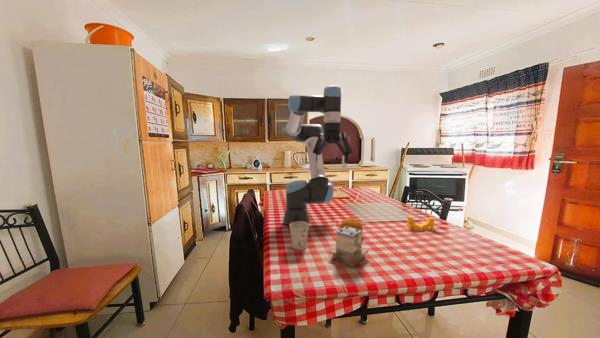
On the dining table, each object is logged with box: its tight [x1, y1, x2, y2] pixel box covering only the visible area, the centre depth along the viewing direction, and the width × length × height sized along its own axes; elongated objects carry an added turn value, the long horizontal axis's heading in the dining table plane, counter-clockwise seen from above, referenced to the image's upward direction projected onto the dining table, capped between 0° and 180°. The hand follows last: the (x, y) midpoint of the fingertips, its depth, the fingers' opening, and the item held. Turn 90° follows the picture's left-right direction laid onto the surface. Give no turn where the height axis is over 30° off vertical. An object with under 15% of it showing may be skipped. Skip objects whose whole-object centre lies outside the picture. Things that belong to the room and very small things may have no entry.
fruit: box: [339, 217, 364, 232], centre depth 109 cm, size 10×10×8 cm
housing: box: [335, 226, 363, 257], centre depth 87 cm, size 7×7×8 cm
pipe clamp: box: [406, 215, 435, 232], centre depth 116 cm, size 12×4×6 cm, turn 79°
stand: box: [328, 246, 369, 267], centre depth 88 cm, size 11×11×3 cm
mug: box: [288, 221, 310, 250], centre depth 99 cm, size 8×13×10 cm, turn 27°
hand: (331, 169), depth 103 cm, fingers open, 13 cm apart
